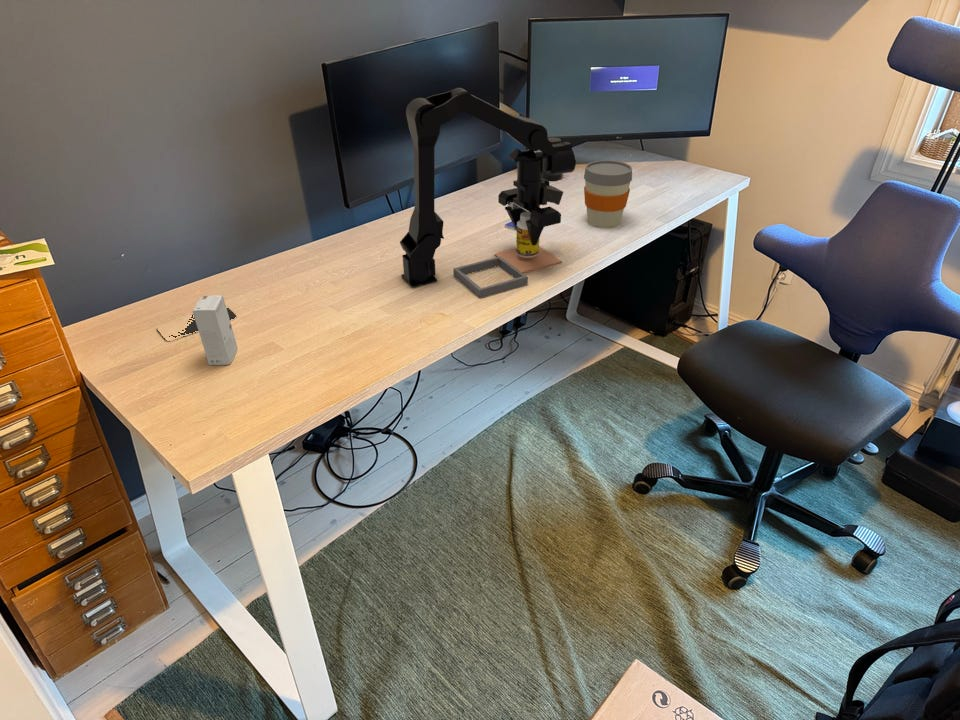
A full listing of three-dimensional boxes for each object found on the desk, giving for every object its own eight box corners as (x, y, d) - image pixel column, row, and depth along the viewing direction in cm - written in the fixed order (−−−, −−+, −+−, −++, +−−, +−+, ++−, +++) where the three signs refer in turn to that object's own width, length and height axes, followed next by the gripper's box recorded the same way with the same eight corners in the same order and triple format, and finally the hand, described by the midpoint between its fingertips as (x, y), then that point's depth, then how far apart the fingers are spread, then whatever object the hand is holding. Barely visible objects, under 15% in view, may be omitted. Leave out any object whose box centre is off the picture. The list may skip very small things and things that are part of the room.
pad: (519, 274, 160) (519, 272, 159) (494, 255, 168) (494, 253, 168) (561, 262, 165) (561, 260, 164) (534, 245, 173) (534, 243, 173)
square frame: (479, 298, 150) (479, 290, 149) (453, 276, 160) (453, 268, 158) (527, 284, 155) (527, 276, 154) (499, 263, 165) (499, 256, 163)
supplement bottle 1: (511, 254, 166) (512, 215, 160) (525, 247, 169) (526, 208, 163) (529, 261, 162) (530, 220, 157) (543, 253, 166) (545, 213, 160)
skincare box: (231, 365, 130) (216, 310, 123) (207, 366, 130) (191, 311, 123) (238, 347, 135) (224, 294, 128) (215, 348, 135) (201, 295, 128)
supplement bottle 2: (560, 173, 218) (562, 136, 211) (564, 181, 213) (566, 142, 206) (539, 174, 218) (540, 136, 211) (542, 181, 212) (543, 143, 206)
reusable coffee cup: (571, 221, 186) (574, 167, 177) (600, 209, 192) (605, 157, 184) (606, 234, 178) (612, 179, 169) (636, 221, 185) (643, 167, 176)
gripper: (582, 183, 151) (577, 247, 160) (536, 160, 165) (534, 221, 174) (540, 192, 147) (538, 258, 156) (497, 168, 161) (497, 230, 169)
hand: (527, 240), depth 164 cm, fingers closed on supplement bottle 1, 5 cm apart
